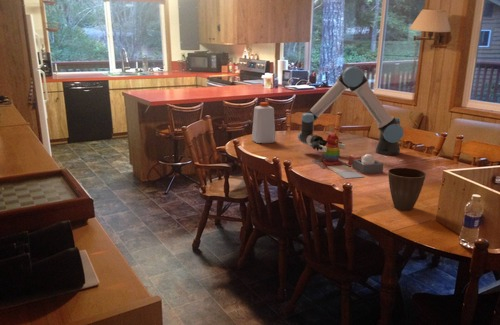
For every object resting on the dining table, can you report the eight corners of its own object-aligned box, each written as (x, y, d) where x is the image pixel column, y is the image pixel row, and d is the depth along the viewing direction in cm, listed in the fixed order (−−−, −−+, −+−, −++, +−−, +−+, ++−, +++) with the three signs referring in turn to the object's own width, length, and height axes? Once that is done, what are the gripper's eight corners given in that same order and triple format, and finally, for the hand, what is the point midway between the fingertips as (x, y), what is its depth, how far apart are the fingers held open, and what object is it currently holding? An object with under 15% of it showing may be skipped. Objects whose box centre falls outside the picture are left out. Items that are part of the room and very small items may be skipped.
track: (338, 159, 261) (338, 158, 261) (369, 176, 226) (369, 176, 226) (311, 160, 257) (311, 160, 257) (339, 179, 222) (339, 178, 222)
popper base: (371, 166, 246) (372, 158, 244) (382, 172, 234) (383, 163, 233) (352, 168, 243) (353, 159, 241) (362, 174, 231) (363, 165, 230)
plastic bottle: (269, 138, 317) (270, 101, 310) (277, 142, 303) (278, 103, 296) (250, 139, 313) (250, 101, 305) (257, 144, 299) (257, 104, 291)
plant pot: (383, 211, 180) (387, 175, 175) (386, 199, 193) (389, 166, 189) (421, 216, 175) (426, 179, 170) (421, 204, 188) (425, 169, 184)
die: (354, 162, 254) (355, 153, 252) (360, 164, 249) (361, 155, 248) (348, 164, 251) (348, 154, 250) (354, 166, 247) (354, 156, 246)
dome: (369, 165, 242) (371, 152, 240) (376, 169, 236) (377, 155, 234) (358, 166, 241) (359, 152, 238) (364, 170, 234) (366, 156, 232)
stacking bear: (329, 167, 244) (331, 136, 239) (318, 162, 253) (320, 133, 248) (344, 164, 249) (346, 135, 244) (333, 160, 258) (335, 131, 253)
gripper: (331, 145, 270) (352, 152, 251) (297, 148, 260) (317, 157, 241) (332, 133, 268) (353, 140, 249) (298, 136, 258) (317, 144, 239)
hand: (335, 148), depth 245 cm, fingers open, 12 cm apart
